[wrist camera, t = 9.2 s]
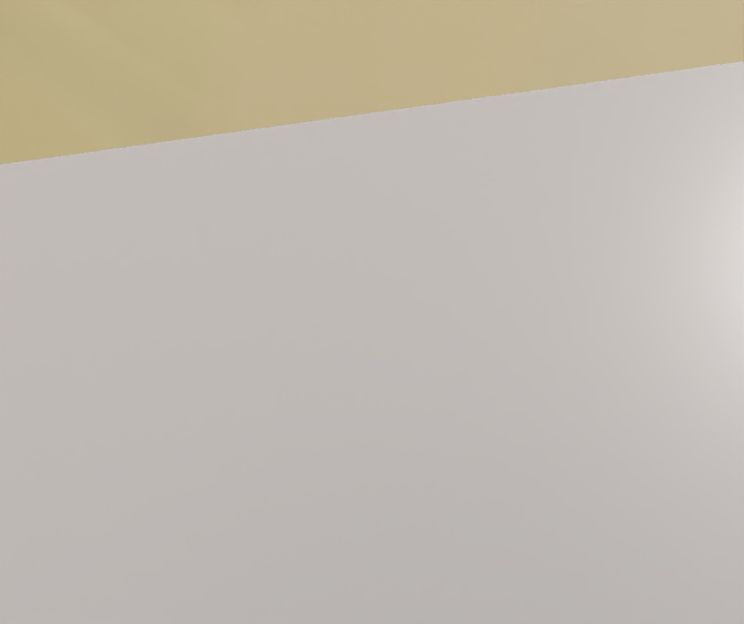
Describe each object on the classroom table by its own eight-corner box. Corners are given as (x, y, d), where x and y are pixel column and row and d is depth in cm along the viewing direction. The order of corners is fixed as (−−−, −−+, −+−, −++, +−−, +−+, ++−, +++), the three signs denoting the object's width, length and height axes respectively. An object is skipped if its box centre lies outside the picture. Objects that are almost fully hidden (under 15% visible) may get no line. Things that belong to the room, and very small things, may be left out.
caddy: (594, 585, 14) (1493, 906, 3) (254, 648, 14) (-211, 1306, 2) (541, 362, 15) (1032, -9, 4) (227, 413, 15) (-164, 153, 4)
